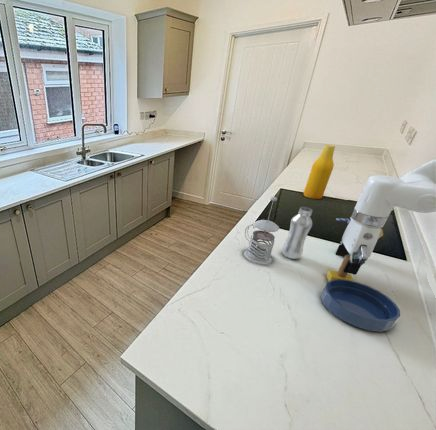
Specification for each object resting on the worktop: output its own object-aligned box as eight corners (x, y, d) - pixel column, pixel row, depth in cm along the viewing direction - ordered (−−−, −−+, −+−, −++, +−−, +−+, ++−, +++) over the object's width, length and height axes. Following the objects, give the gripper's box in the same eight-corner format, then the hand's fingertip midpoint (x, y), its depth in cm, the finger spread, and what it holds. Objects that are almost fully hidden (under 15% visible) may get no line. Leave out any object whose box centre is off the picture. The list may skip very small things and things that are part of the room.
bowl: (379, 299, 80) (386, 288, 78) (403, 341, 67) (412, 329, 65) (315, 284, 86) (320, 273, 84) (326, 320, 73) (332, 309, 71)
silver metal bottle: (290, 262, 97) (307, 214, 88) (276, 252, 103) (290, 206, 94) (304, 259, 98) (322, 212, 89) (289, 249, 104) (305, 204, 95)
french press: (263, 267, 95) (281, 205, 83) (234, 252, 103) (247, 194, 92) (277, 258, 99) (296, 198, 88) (248, 244, 108) (263, 188, 97)
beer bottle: (323, 195, 152) (342, 145, 138) (320, 200, 146) (339, 148, 132) (304, 192, 157) (321, 143, 144) (301, 196, 151) (317, 146, 138)
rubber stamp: (348, 280, 88) (360, 255, 83) (351, 287, 85) (364, 262, 80) (326, 275, 90) (336, 251, 86) (329, 282, 87) (340, 258, 83)
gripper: (398, 234, 68) (369, 284, 76) (373, 208, 82) (351, 252, 90) (361, 228, 71) (337, 276, 79) (344, 203, 85) (325, 247, 93)
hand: (344, 263), depth 85 cm, fingers open, 9 cm apart
